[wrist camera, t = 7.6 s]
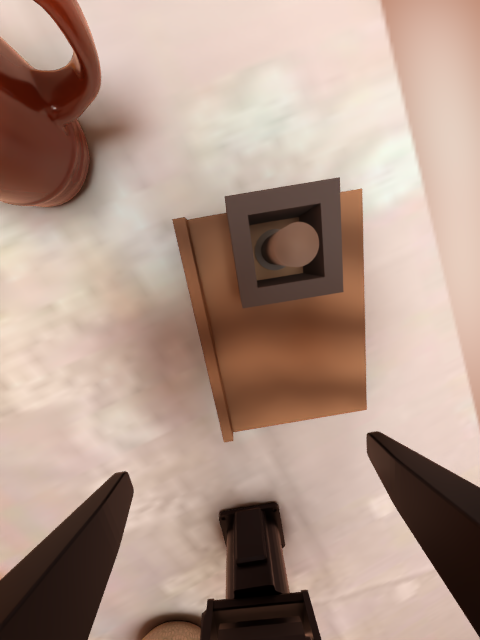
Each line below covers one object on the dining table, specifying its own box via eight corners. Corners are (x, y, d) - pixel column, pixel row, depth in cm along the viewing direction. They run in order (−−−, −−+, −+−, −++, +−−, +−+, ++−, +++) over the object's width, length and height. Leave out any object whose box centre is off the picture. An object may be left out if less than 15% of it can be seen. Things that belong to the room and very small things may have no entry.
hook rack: (359, 401, 21) (421, 470, 14) (224, 424, 21) (221, 503, 14) (352, 193, 16) (441, 145, 10) (179, 224, 17) (142, 199, 10)
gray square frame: (318, 284, 17) (343, 292, 13) (240, 297, 17) (242, 308, 13) (312, 198, 15) (339, 177, 11) (226, 212, 15) (224, 196, 12)
